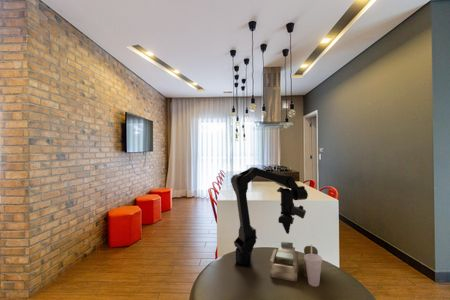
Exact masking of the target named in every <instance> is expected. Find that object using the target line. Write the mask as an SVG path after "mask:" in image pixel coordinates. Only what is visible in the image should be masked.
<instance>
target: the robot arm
mask: <svg viewBox="0 0 450 300" xmlns="http://www.w3.org/2000/svg"><path fill="white" fill-rule="evenodd" d="M257 177H258V178H261V179H263V180H268V181H271V182H274V183H276V185H278V186H280V187H279V188H278V189H277V190H276V192H277V193H280V215H279V217H278V220H277V221H278V224H281V225H282V226H283V229H284V231H285V233H286V234H288V235H289V234H290V229H291V226H292V225H293V224H294V220H295V217H293V216H297V217H299V218H301V219H304V218H305V216H306V213H307V211H306V210H305V209H304V206H303V205H299V206H295V202H294V201H304V200H307V199H308V196H309V194H308V191H307V189H306V188H305V186H304V185H298V184H297V182H296V181H295V178H294V176H293V175H286V174H278V173H275V172H271V171H267V170H264V169H261V168H258V167H257V166H251V167H249V168H248V169H245V170H244V171H242V172H241V171H240V173H237V174H234V175H232V177H231V178H230V183H231V187H232V189H233V191H234V193H235V196H236V197H235V198H236V202H237V210H238V219H239V228H238V237H236V239H235V240H234V241H233V245H234V247H236V249H235V262H234V266H238V267H242V268H249V267H250V265H251V264H252V262H253V249H254V248H255V247H254V246H255V245H256V243H257V239H258V237H257V229H256V228H254V227H253V226H252V225H251V220H250V213H249V206H248V205H249V204H248V197H247V192H248V190H249V183H251V182H252V181H253V180H254V179H255V178H257Z"/></svg>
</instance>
